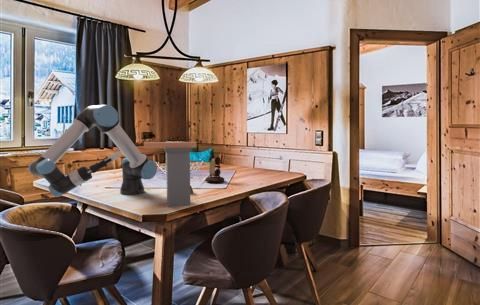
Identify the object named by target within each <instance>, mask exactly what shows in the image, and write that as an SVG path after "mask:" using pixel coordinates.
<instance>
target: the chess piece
mask: <svg viewBox="0 0 480 305" xmlns="http://www.w3.org/2000/svg"><path fill="white" fill-rule="evenodd" d="M208 161H209V169H208V170H209V171H208V172H209V176H208V177H206V178H205V183H207V182H210V183H213V184H216V183H221V182H222V183H225V178H224V177H222V176H221V164H220V163H221V157H219V156H216V157H215V156H213V155H211V156H210V157H209V158H208Z"/></svg>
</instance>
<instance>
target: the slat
mask: <svg viewBox="0 0 480 305" xmlns="http://www.w3.org/2000/svg"><path fill="white" fill-rule="evenodd" d="M164 148H192V149H194V148H197V142H196V141H163V142H161V141H160V142H157V141H156V142H152V141H151V142H143V149H146V150H148V149H151V150H152V149H164Z"/></svg>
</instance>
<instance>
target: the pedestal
mask: <svg viewBox="0 0 480 305" xmlns="http://www.w3.org/2000/svg"><path fill="white" fill-rule="evenodd" d="M163 151H164V152H165V154H166V156H165V158H166V160H165V161H166V163H165V164H166V165H165V167H166V204H167V208H176V206H177V207H187V206H189V207H190V206H191V193H190V186H191V153H193V148H163Z"/></svg>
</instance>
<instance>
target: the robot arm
mask: <svg viewBox="0 0 480 305" xmlns="http://www.w3.org/2000/svg"><path fill="white" fill-rule="evenodd" d="M72 122H73V123H72V124H71V125H70V126H69V127H68V128H67V129H66V130H65V131H64V132H63V133H62V134H61V135H60V136H59V137H58V138H57V139H56V140H55V141H54V143H52V144H51V146H49V148H48V149H47V150H46V151H45V152H44V153H42V155H41V156H39V158H38V159H37V160H35V161H32V162H31V163H30V164H29V165H28V167H27V168H28V169H27V170H28V172H29V174H30V175H32V176H35V177H39V178H42V179H45V181H47V182H48V183H49V185H48V191H49V192H50V194H51V195H52V196H54V197H55V198H58V197H61V196H64V195H65V194H67V193H70V191H72V190H74V189H75V188H77V187H79V186H80V187H82V184H84V183H85V182H88V181H90V180H92V179H93V175H92V174H95V173H96V172H98V171H99V170H100V169H102V168H104V167H105V168H107V167H108V165H109V164H111V163H113V162H115V161H116V160H118V159H119V158H120V157H121V156H122V155H123V156H124V157H123V159H121V168H122V183H121V185H120V189H119V193H120V195H121V194H122V195H138V194H143V193H145V186H144V184H143V181H142V180H151V179H153V178H154V177H155V176H156V174H157V172H158V171H157V170H158V165H157V163H156V162H155V161H153V160H150V159H149V158H148V156H147V155H146V154H142V153H141V151H140V150H139V149H138V147H137V145H135V143H134V142H133V141H132V140H131V138H130V137H129V135H128V134H127V132H125V130H124V129H123V127H122V126H121V125H120V123H121V121H120V119H119V113H118V111H117V109H115V107H114V106H111V105H108V104H97V105H95V104H94V105H88V106H87V107H85V108H83V110H82V111H80V113H78V115H77V116H76V117H74V119H73V121H72ZM94 127H97V129H98V130H99V131H100V132H101V133H102V134H106V135H107V136H108V137H109V139H110V140H111V141H112V142H113V143H114V145H115V146H116V147H117V149H118V151H115V152H114V153H112V154H111V155H109V156H105V158H104V159H103V160H100V161H99V162H96V163H94V164H91V165H89V167H88V168H87V166H85V165H82V166H81V167H79V168H77V170H76V169H75V170H74V171H72V172H69V174H66V175H65V174H64V173H63V171H61V169H60V168H59V167H58V166H57V165H56V164H57V162H59V160H60V159H61V158H62V157H63V156H64V155H65V154H66V153H67V152H68V151H69V150H70V148H71V147H72V146H73V145H74V144H76V142H77V141H79V139H80V138H81V137H82V136H83V134H84V133H85V132H86V133H88V132H89V131H90V130H91V129H92V128H94ZM120 152H121V153H120Z"/></svg>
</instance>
